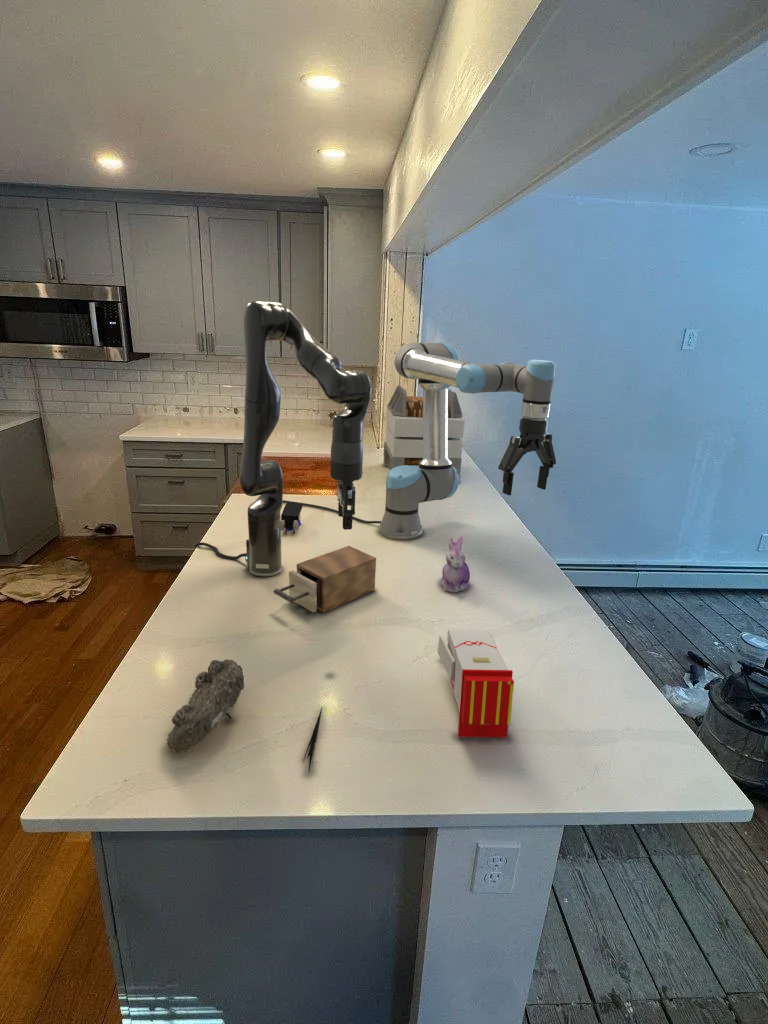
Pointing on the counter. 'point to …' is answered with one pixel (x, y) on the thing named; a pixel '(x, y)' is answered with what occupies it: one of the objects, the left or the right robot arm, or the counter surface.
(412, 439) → the white slatted crate
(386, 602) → the counter surface
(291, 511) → the black toy vehicle
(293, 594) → the drawer
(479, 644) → the toy
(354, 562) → the cabinet
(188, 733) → the fossil
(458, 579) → the figurine
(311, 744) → the feather
